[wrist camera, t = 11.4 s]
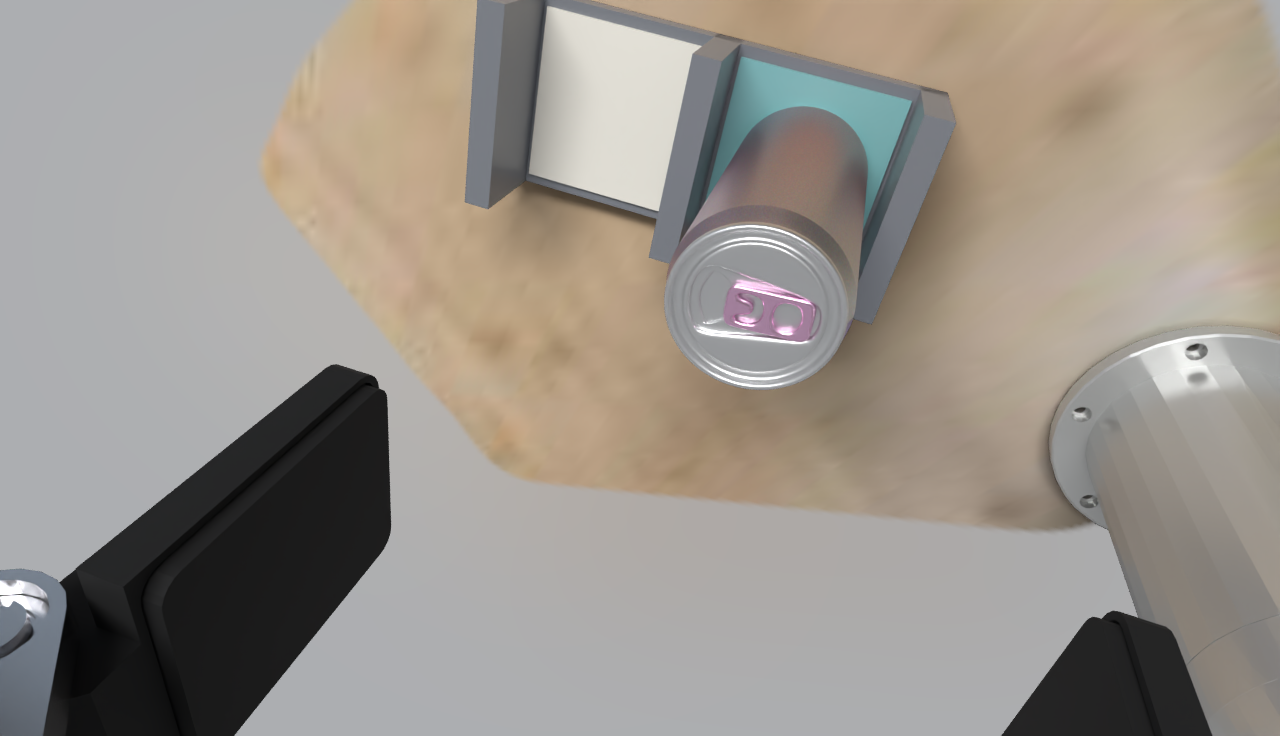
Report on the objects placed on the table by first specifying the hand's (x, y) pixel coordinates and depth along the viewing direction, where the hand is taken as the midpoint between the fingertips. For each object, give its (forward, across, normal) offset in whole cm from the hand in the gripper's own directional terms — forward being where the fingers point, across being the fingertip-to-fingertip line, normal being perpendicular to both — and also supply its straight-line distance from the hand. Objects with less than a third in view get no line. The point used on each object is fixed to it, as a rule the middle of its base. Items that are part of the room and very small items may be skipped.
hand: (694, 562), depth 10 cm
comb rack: (+30, +6, +3) cm, 30 cm away
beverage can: (+29, +1, +3) cm, 29 cm away
